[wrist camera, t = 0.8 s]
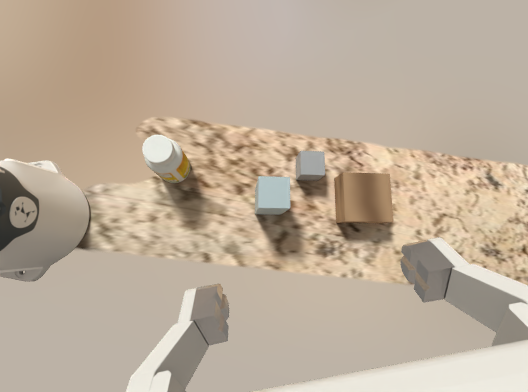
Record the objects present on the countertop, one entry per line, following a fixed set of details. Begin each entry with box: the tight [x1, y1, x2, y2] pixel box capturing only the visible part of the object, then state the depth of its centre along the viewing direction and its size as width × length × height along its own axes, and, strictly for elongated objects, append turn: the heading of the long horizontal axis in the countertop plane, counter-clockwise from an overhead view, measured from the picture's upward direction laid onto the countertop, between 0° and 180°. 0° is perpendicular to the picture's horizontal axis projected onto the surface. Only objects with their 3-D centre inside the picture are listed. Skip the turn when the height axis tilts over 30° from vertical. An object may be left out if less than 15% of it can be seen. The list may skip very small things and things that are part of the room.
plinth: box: [334, 173, 393, 223], centre depth 44 cm, size 8×8×4 cm
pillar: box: [255, 176, 290, 215], centre depth 40 cm, size 4×4×9 cm
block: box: [296, 151, 325, 181], centre depth 44 cm, size 4×4×4 cm
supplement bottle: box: [142, 135, 190, 183], centre depth 39 cm, size 5×5×10 cm
